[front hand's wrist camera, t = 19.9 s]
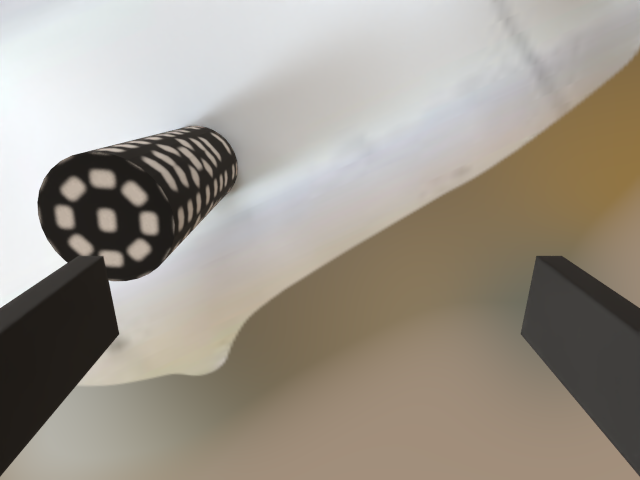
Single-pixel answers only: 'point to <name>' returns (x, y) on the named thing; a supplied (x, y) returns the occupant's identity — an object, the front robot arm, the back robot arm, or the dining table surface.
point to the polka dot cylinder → (135, 198)
